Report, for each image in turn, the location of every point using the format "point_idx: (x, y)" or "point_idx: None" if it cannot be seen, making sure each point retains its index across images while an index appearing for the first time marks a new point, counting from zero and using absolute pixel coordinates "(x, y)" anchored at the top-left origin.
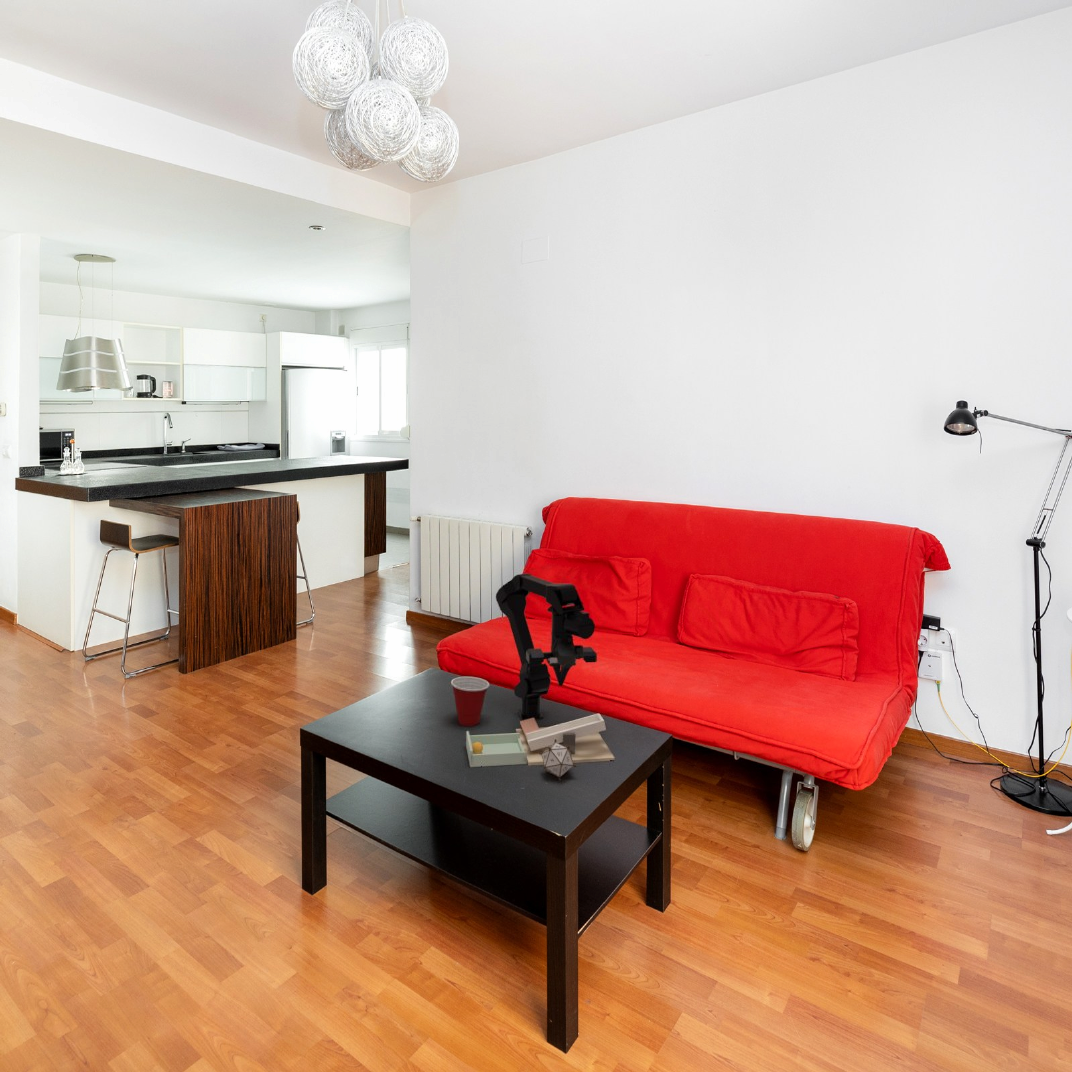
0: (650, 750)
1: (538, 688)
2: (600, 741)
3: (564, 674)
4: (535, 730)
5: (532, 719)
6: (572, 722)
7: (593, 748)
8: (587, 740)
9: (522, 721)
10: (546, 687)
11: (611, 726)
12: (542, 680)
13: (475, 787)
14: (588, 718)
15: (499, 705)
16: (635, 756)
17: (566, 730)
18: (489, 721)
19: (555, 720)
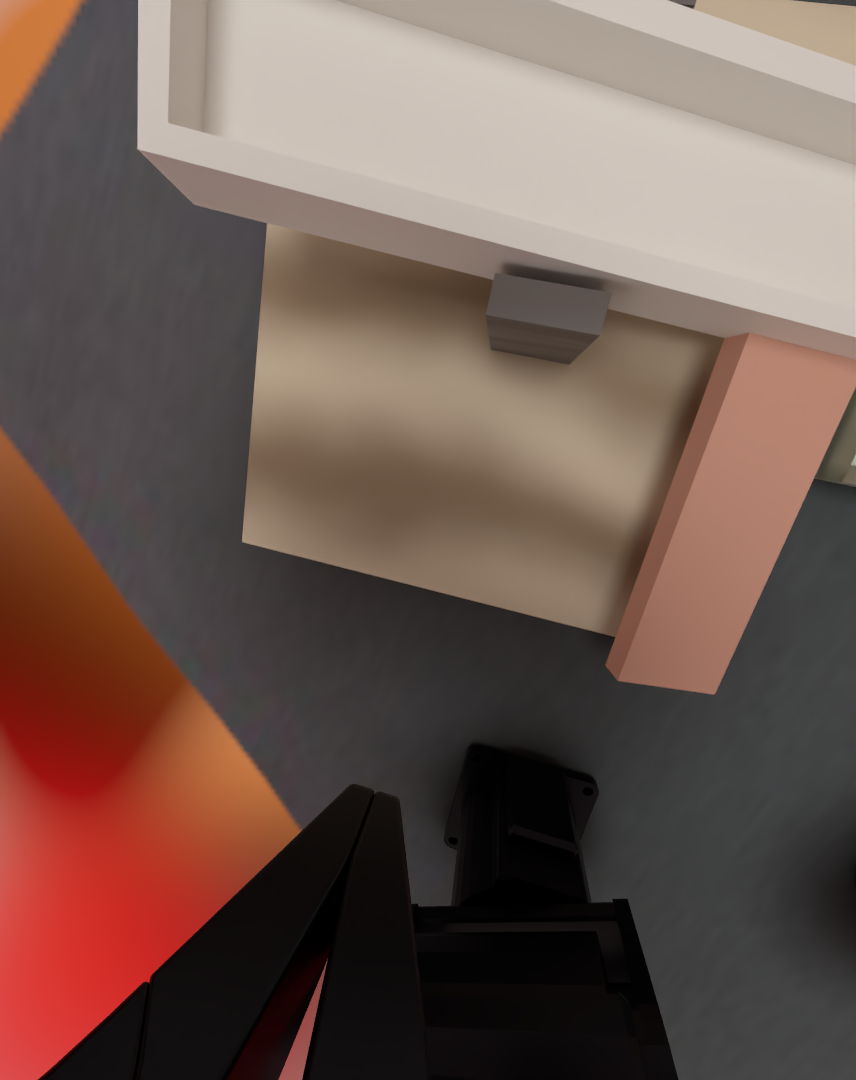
0: (34, 102)
1: (527, 965)
2: (285, 286)
3: (181, 1043)
4: (730, 466)
5: (641, 659)
6: (483, 210)
7: None
8: (359, 331)
9: (704, 680)
10: (428, 954)
11: (154, 519)
12: (470, 1072)
13: None
14: (295, 166)
15: None
16: None
17: (645, 15)
18: (790, 838)
19: (413, 702)
